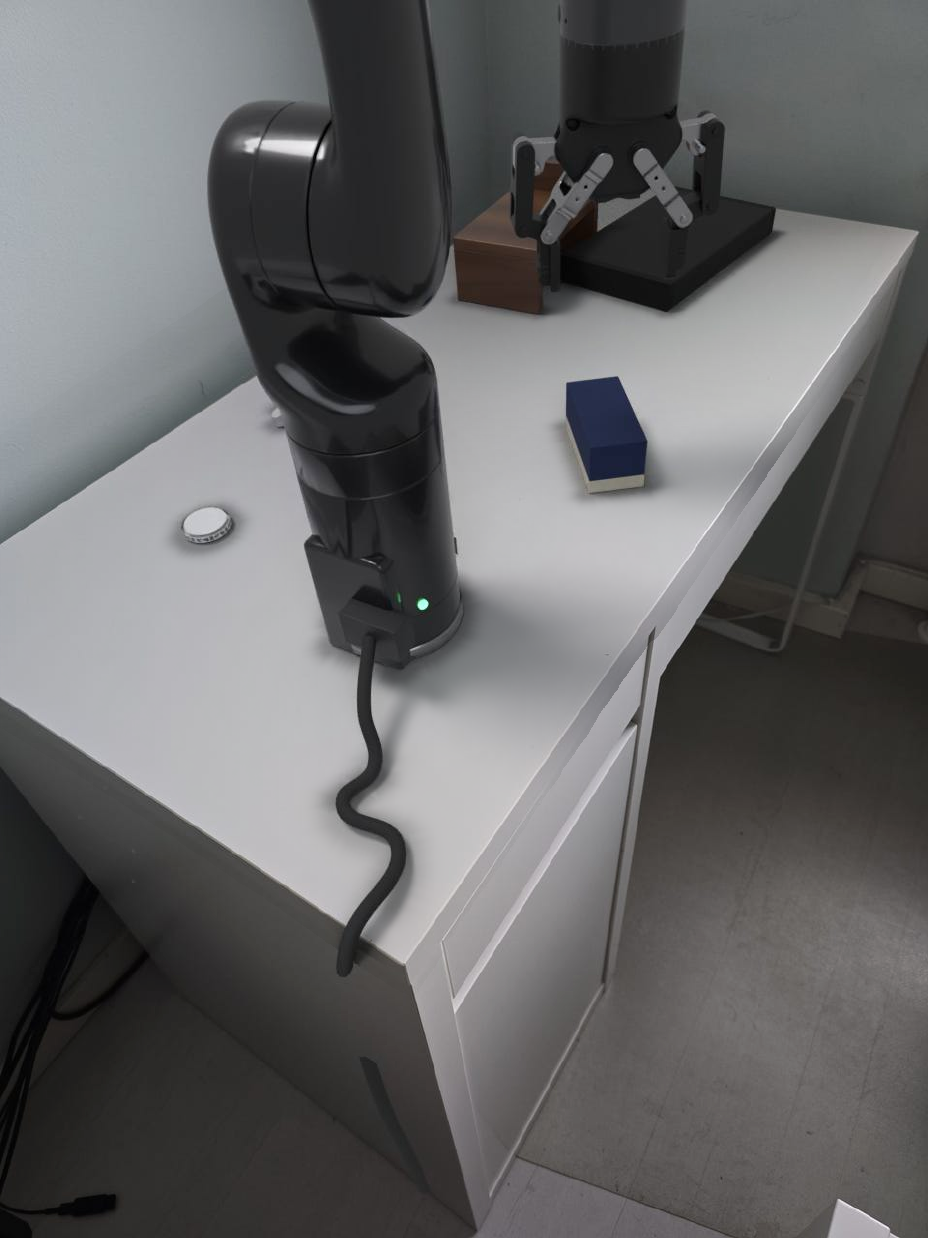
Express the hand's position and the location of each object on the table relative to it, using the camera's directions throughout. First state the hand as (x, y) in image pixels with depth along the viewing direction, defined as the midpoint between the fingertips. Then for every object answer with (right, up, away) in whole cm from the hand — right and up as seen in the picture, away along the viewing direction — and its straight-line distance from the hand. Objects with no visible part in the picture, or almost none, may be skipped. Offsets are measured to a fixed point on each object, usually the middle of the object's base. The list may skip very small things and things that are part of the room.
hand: (610, 281), depth 64 cm
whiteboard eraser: (+1, -11, +11) cm, 15 cm away
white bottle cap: (-32, -17, +8) cm, 37 cm away
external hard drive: (+13, +17, +37) cm, 43 cm away
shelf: (-3, +15, +36) cm, 39 cm away
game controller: (-24, -4, +21) cm, 32 cm away
